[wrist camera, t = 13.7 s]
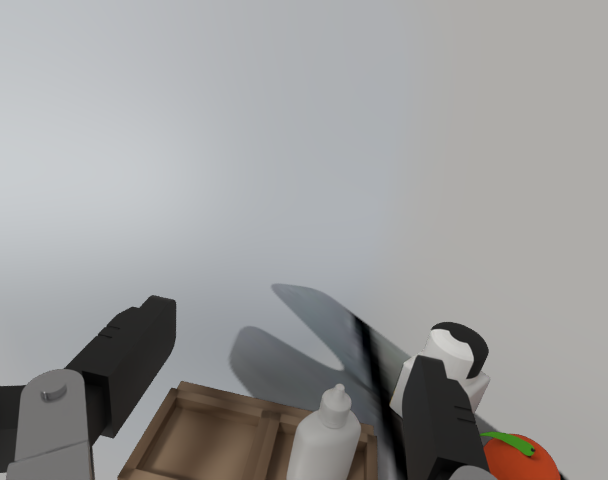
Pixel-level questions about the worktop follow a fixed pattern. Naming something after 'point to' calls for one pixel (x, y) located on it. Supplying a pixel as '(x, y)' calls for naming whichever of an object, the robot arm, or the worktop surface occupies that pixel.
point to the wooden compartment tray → (227, 439)
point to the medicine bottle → (451, 361)
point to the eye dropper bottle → (325, 440)
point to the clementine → (518, 458)
